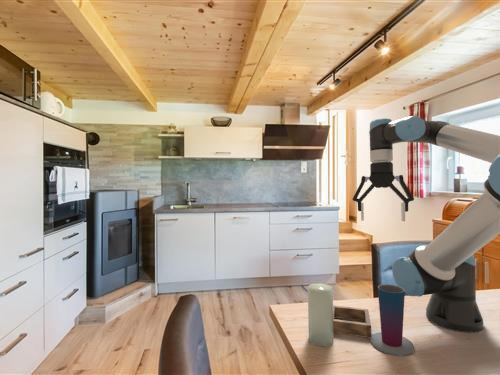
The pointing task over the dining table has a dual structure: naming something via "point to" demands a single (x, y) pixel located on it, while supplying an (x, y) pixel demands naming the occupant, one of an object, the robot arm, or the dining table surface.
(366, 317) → the wooden tray box
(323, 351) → the dining table surface
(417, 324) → the dining table surface
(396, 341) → the cup
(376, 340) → the felt pad
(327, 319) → the pillar candle
